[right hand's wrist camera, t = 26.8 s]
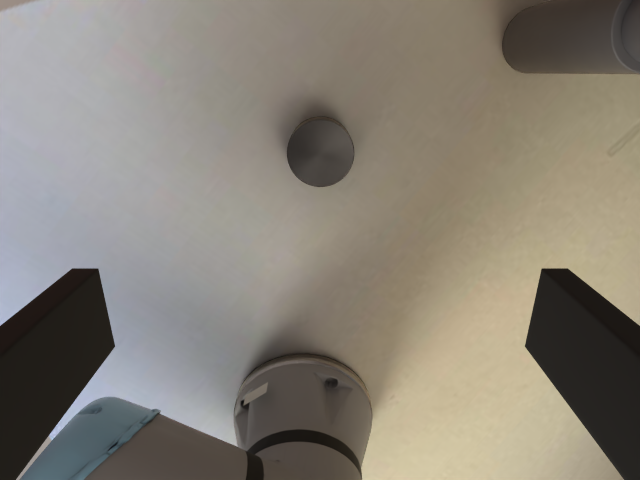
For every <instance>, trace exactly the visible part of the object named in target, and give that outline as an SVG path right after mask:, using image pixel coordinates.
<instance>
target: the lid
mask: <svg viewBox="0 0 640 480" xmlns="http://www.w3.org/2000/svg"><path fill="white" fill-rule="evenodd" d="M287 158H288V163H289V166H290V168H291V170H292V171H293V173H294V174H295V175H296V177H298V178H299V179H300V180H301V181H302V182H304V183H306V184H308V185H311V186H316V187H325V186H330V185H333V184H335V183H337V182H339V181H340V180H341V179H343V178H344V177H345V176H346V174H347V173H348V172H349V170H350V168H351V166H352V163H353V160H354V147H353V143H352V140H351V138H350V135H349V134H348V132H347V130H346V129H345V128H344V127H343V126H342V125H341V124H340V123H339V122H337V121H336V120H334V119H331V118H328V117H313V118H310V119H308V120H306V121H304V122H302V123H301V124H300V125H299V126H298V127H297V128H296V129H295V131H294V132H293V134H292V136H291V138H290V141H289V143H288V148H287Z"/></svg>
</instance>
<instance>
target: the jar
mask: <svg viewBox="0 0 640 480" xmlns="http://www.w3.org/2000/svg"><path fill="white" fill-rule="evenodd" d="M503 53H504V56H505V59H506V61H507V62H508V64H509V65H510V66H511V67H512V68H513V69H515V70H517V71H519V72H522V73H569V74H640V0H552V1H549V2H546V3H542V4H539V5H536V6H532V7H529V8H527V9H525V10H523V11H521V12H520V13H519V14H517V15H516V16H515V17H514V18H513V20H512V21H511V22H510V24H509V25H508V27H507V29H506V31H505V34H504V38H503Z"/></svg>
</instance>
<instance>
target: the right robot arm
mask: <svg viewBox="0 0 640 480" xmlns="http://www.w3.org/2000/svg"><path fill="white" fill-rule="evenodd" d="M114 347H115V344H114V339H113V335H112V330H111V325H110V321H109V316H108V312H107V307H106V302H105V298H104V293H103V288H102V284H101V279H100V274H99V270H98V269H71V270H70V271H69V272H67V273H66V274H65V275H64V276H62V277H61V278H60V279H59V280H57V281H56V282H55V283H54V284H52V285H51V286H50V287H49V288H47V289H46V290H45V291H44V292H42V293H41V294H40V295H39V296H37V297H36V298H35V299H34V300H32V301H31V302H30V303H29V304H27V305H26V306H25V307H24V308H22V309H21V310H20V311H19V312H17V313H16V314H15V315H13V316H12V317H11V318H10V319H8V320H7V321H6V322H5V323H3V324H2V325H1V326H0V480H16V479H17V477H18V476H19V475H20V473H21V472H22V471H23V469H24V468H25V467H26V465H27V464H28V462H29V461H30V460H31V459H32V457H33V456H34V454H35V453H36V452H37V450H38V449H39V448H40V446H41V445H42V444H43V442H44V441H45V440H46V438H47V437H48V436H49V434H50V433H51V432H52V430H53V429H54V428H55V426H56V425H57V424H58V422H59V421H60V420H61V418H62V417H63V416H64V414H65V413H66V412H67V410H68V409H69V408H70V406H71V405H72V403H73V402H74V401H75V399H76V398H77V397H78V395H79V394H80V393H81V391H82V390H83V389H84V387H85V386H86V385H87V383H88V382H89V381H90V379H91V378H92V377H93V375H94V374H95V373H96V371H97V370H98V369H99V367H100V366H101V365H102V363H103V362H104V361H105V359H106V358H107V356H108V355H109V354H110V352H111V351H112V350H113V348H114ZM525 347H526V348H527V350H528V351H529V352H530V354H531V355H532V357H533V358H534V359H535V361H536V362H537V363H538V365H539V366H540V367H541V369H542V370H543V371H544V373H545V374H546V375H547V377H548V378H549V379H550V381H551V382H552V383H553V385H554V386H555V387H556V389H557V390H558V391H559V393H560V394H561V395H562V397H563V398H564V399H565V401H566V402H567V403H568V405H569V406H570V408H571V409H572V410H573V412H574V413H575V414H576V416H577V417H578V418H579V420H580V421H581V422H582V424H583V425H584V426H585V428H586V429H587V430H588V432H589V433H590V434H591V436H592V437H593V438H594V440H595V441H596V442H597V444H598V445H599V446H600V448H601V449H602V450H603V452H604V453H605V454H606V456H607V457H608V459H609V460H610V461H611V463H612V464H613V465H614V467H615V468H616V469H617V471H618V472H619V473H620V475H621V476H622V477H623V479H624V480H640V326H639V325H638V324H637V323H635V322H634V321H633V320H632V319H630V318H629V317H628V316H627V315H625V314H624V313H623V312H621V311H620V310H619V309H618V308H616V307H615V306H614V305H613V304H611V303H610V302H609V301H608V300H606V299H605V298H604V297H603V296H601V295H600V294H599V293H598V292H596V291H595V290H594V289H593V288H591V287H590V286H589V285H588V284H586V283H585V282H584V281H583V280H581V279H580V278H579V277H578V276H576V275H575V274H574V273H573V272H571V271H570V270H569V269H542V270H541V274H540V279H539V284H538V288H537V293H536V298H535V302H534V307H533V312H532V316H531V321H530V325H529V330H528V335H527V339H526V344H525ZM160 412H161V411H160V410H158V409H153V410H150V409H148V408H145V407H142V406H139V405H137V404H134V403H131V402H128V401H126V400H123V399H120V398H116V397H104V398H100V399H97V400H95V401H93V402H91V403H90V404H88V405H87V406H86V407H84V408H83V409H82V410H81V411H80V412H79V413H77V414H76V415H75V416H74V417H73V418H72V419H71V421H70V422H69V423H68V424H67V425H66V426H65V427H64V428H63V429H62V430H61V431H60V432H59V433H58V435H57V436H56V437H55V438H54V439H53V440H52V441H51V443H50V444H49V445H48V446H47V447H46V449H45V450H44V451H43V452H42V453H41V454H40V455H39V457H38V458H37V459H36V460H35V461H34V463H33V464H32V465H31V466H30V467H29V469H28V470H27V471H26V472H25V474H24V475H23V476H22V477H21V479H20V480H362V474H361V466H362V462H363V458H364V455H365V451H366V447H367V443H368V440H369V436H370V432H371V426H372V409H371V403H370V397H369V394H368V391H367V389H366V387H365V385H364V383H363V382H362V381H361V379H360V378H359V377H358V376H357V375H356V374H355V373H354V372H353V371H352V370H350V369H349V368H348V367H346V366H345V365H343V364H341V363H339V362H337V361H335V360H332V359H330V358H326V357H323V356H318V355H311V354H294V355H287V356H282V357H279V358H276V359H273V360H271V361H268V362H266V363H264V364H263V365H261V366H259V367H258V368H257V369H255V370H254V371H253V372H252V373H251V374H250V375H249V376H248V377H247V378H246V379H245V381H244V382H243V384H242V386H241V388H240V390H239V393H238V396H237V400H236V404H235V408H234V427H235V433H236V439H237V446H238V447H236V446H234V445H232V444H229V443H227V442H224V441H222V440H220V439H217V438H215V437H212V436H210V435H208V434H205V433H203V432H200V431H198V430H196V429H193V428H191V427H189V426H186V425H184V424H182V423H179V422H177V421H175V420H172V419H170V418H168V417H166V416H163V415H161V414H159V413H160Z"/></svg>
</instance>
